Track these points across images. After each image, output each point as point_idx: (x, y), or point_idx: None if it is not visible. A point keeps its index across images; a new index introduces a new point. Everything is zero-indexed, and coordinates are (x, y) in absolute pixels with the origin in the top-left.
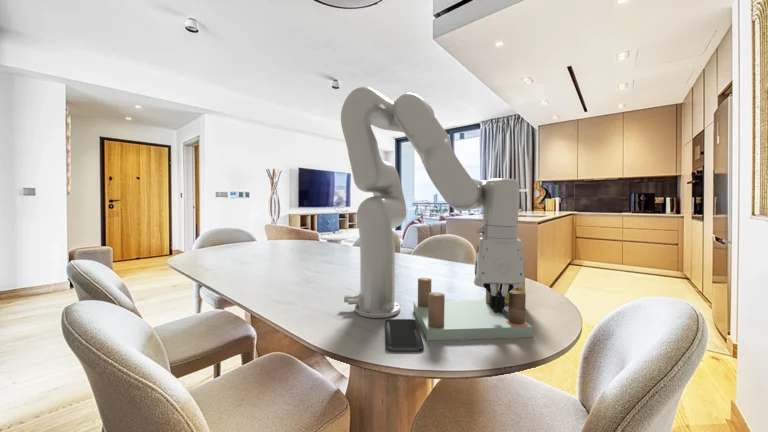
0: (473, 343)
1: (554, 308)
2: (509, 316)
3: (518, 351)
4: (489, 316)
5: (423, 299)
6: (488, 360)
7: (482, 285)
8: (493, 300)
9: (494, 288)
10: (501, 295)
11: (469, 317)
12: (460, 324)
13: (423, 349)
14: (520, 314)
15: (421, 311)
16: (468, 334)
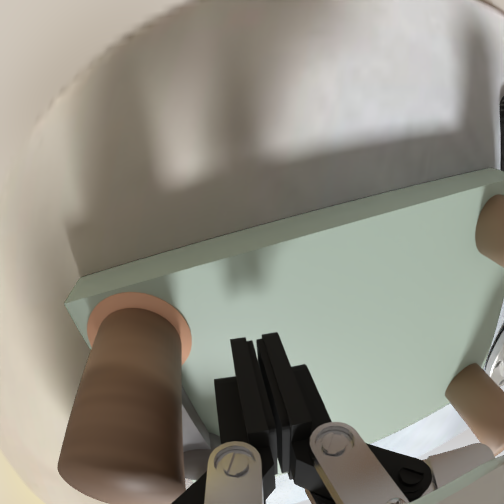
0: (364, 157)
1: (41, 468)
2: (176, 349)
3: (169, 108)
4: None
5: (487, 380)
6: (327, 16)
7: (436, 468)
8: (307, 403)
9: (348, 480)
10: (252, 450)
11: (363, 338)
12: (424, 249)
13: (501, 104)
14: (110, 344)
15: (490, 329)
16: (389, 199)
